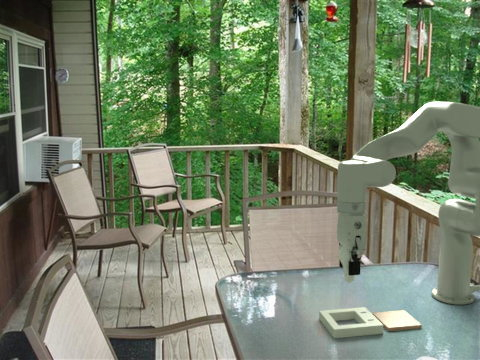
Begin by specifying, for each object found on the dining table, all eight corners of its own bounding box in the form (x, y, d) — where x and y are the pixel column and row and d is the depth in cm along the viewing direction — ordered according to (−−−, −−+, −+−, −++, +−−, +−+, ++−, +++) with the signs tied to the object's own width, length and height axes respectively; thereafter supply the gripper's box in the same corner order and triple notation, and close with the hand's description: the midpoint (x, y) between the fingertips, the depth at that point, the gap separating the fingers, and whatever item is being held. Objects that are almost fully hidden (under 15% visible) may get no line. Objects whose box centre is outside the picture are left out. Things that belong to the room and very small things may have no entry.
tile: (403, 313, 154) (404, 309, 154) (421, 328, 145) (421, 324, 144) (372, 315, 152) (372, 312, 152) (388, 331, 143) (388, 327, 143)
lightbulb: (364, 281, 144) (365, 243, 142) (353, 288, 139) (354, 248, 137) (345, 276, 148) (346, 239, 146) (333, 282, 144) (334, 244, 142)
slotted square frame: (364, 315, 153) (364, 306, 153) (382, 333, 141) (383, 324, 141) (319, 319, 150) (319, 310, 150) (334, 338, 139) (334, 329, 138)
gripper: (378, 213, 132) (376, 280, 135) (351, 199, 149) (350, 259, 152) (350, 215, 131) (348, 283, 134) (326, 200, 147) (325, 261, 151)
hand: (349, 270), depth 143 cm, fingers closed on lightbulb, 5 cm apart
